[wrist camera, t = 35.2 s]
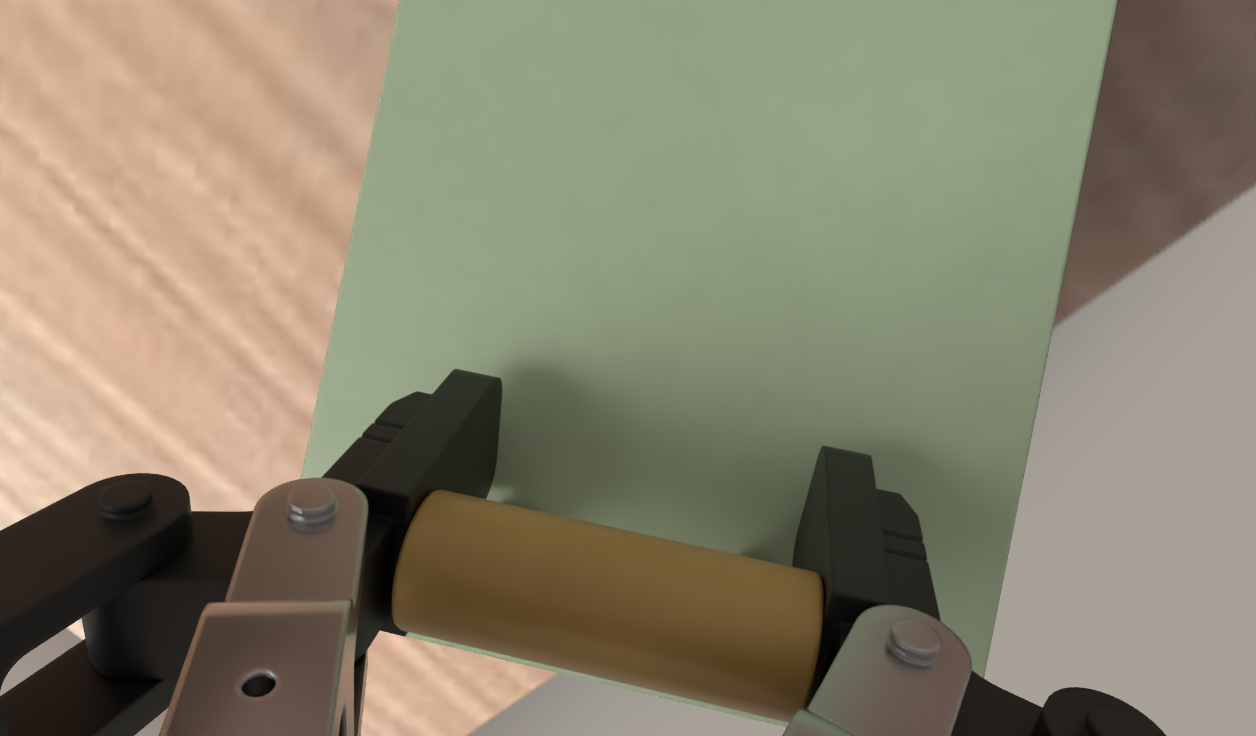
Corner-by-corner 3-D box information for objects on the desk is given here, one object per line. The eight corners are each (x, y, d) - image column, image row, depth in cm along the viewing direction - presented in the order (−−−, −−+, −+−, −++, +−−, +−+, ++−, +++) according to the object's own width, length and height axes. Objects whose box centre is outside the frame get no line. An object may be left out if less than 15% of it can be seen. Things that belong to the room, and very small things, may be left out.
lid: (953, 751, 14) (1082, 941, 9) (294, 595, 15) (97, 690, 10) (1167, -331, 14) (1405, -710, 10) (500, -405, 16) (403, -779, 11)
